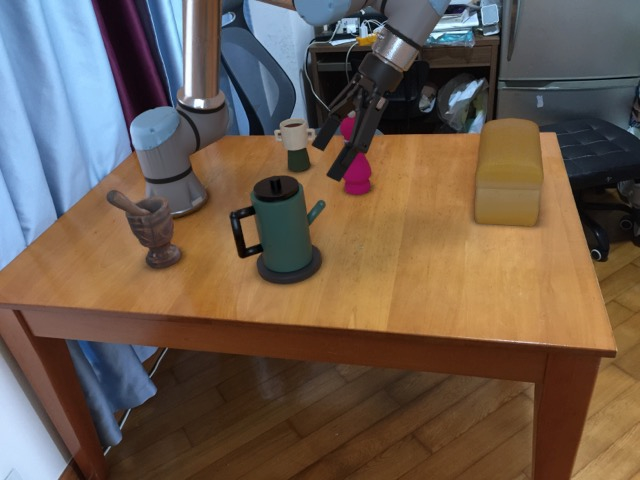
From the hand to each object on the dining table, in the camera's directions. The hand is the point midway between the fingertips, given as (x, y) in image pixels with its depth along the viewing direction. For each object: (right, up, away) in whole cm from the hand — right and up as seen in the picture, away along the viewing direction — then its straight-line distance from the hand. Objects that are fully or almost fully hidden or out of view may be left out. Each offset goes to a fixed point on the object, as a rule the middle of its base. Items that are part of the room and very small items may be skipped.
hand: (324, 162), depth 103 cm
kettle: (-7, -18, +6) cm, 21 cm away
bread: (+41, -5, +20) cm, 46 cm away
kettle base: (-7, -20, +7) cm, 22 cm away
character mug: (-6, +5, +44) cm, 45 cm away
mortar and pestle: (-35, -20, +13) cm, 42 cm away
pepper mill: (+8, -2, +31) cm, 32 cm away
